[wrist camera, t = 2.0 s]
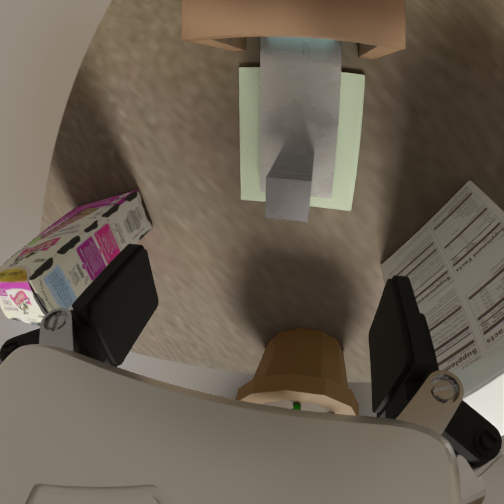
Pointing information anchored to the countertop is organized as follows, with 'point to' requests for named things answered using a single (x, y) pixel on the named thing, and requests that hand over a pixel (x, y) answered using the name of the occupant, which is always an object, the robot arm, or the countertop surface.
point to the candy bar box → (70, 256)
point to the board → (344, 151)
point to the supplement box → (462, 293)
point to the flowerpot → (302, 374)
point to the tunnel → (297, 22)
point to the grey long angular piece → (298, 122)
